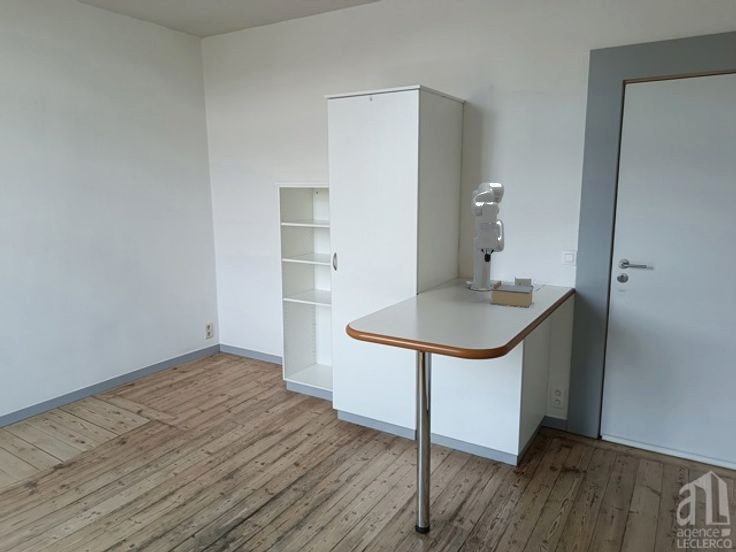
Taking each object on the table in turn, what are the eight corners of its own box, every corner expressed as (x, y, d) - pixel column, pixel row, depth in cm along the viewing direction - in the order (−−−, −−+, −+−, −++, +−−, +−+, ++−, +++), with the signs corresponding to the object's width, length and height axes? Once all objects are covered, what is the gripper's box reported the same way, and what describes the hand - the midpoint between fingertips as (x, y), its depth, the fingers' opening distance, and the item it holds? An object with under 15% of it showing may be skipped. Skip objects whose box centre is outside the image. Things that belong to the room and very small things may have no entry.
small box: (528, 295, 281) (529, 276, 279) (530, 297, 275) (531, 278, 273) (513, 295, 281) (514, 276, 280) (515, 297, 276) (516, 278, 274)
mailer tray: (491, 304, 259) (491, 290, 258) (497, 298, 271) (497, 286, 270) (527, 307, 251) (528, 293, 250) (531, 302, 264) (532, 288, 262)
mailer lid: (491, 290, 258) (491, 284, 257) (497, 285, 271) (497, 280, 270) (529, 293, 250) (529, 287, 249) (533, 288, 263) (533, 282, 262)
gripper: (472, 226, 260) (471, 261, 263) (502, 227, 254) (500, 263, 257) (476, 225, 267) (475, 260, 270) (504, 226, 261) (503, 262, 263)
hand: (487, 261), depth 263 cm, fingers closed
